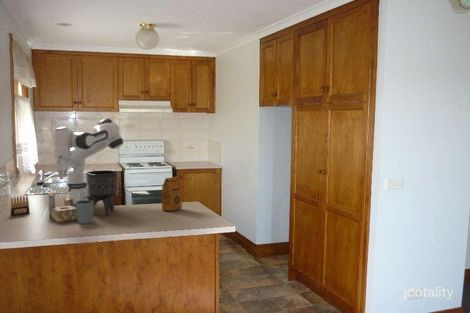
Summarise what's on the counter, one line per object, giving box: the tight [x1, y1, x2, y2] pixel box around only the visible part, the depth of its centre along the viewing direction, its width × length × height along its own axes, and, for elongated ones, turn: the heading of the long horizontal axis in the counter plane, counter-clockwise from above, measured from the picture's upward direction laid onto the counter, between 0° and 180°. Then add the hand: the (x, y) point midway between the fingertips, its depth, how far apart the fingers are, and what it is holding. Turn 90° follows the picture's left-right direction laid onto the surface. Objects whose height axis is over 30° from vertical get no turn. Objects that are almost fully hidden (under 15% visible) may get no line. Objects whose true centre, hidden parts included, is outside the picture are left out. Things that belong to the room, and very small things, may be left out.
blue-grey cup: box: [74, 200, 94, 224], centre depth 250 cm, size 10×10×12 cm
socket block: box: [51, 205, 77, 224], centre depth 255 cm, size 11×11×7 cm
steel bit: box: [47, 193, 56, 219], centre depth 261 cm, size 4×4×14 cm
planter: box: [85, 169, 120, 217], centre depth 271 cm, size 20×20×26 cm
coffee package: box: [161, 176, 183, 212], centre depth 282 cm, size 10×12×22 cm
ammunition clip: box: [9, 194, 30, 217], centre depth 268 cm, size 11×2×12 cm, turn 132°
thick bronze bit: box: [63, 198, 75, 207], centre depth 267 cm, size 6×6×10 cm
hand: (63, 178), depth 253 cm, fingers open, 8 cm apart
